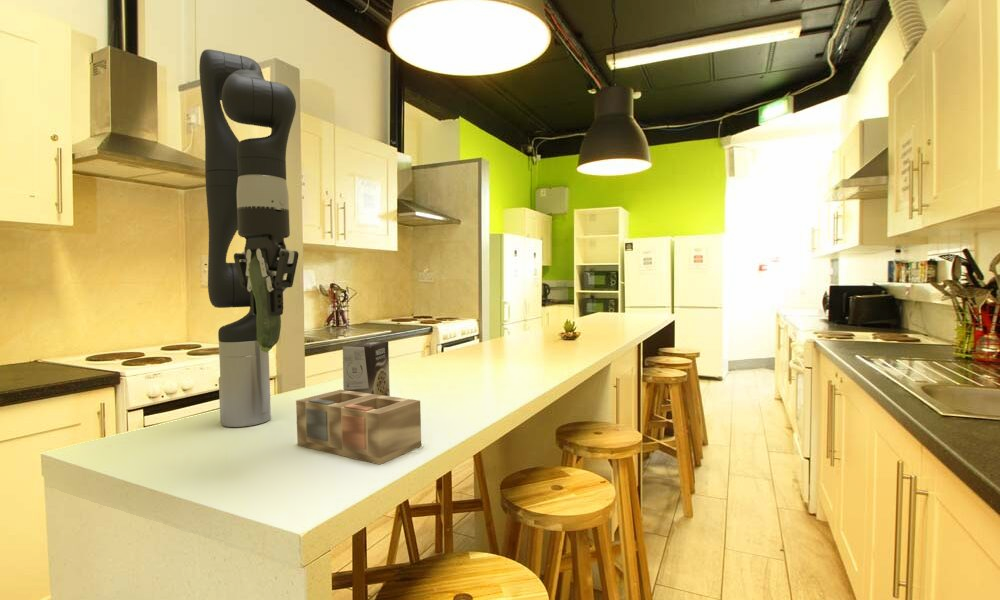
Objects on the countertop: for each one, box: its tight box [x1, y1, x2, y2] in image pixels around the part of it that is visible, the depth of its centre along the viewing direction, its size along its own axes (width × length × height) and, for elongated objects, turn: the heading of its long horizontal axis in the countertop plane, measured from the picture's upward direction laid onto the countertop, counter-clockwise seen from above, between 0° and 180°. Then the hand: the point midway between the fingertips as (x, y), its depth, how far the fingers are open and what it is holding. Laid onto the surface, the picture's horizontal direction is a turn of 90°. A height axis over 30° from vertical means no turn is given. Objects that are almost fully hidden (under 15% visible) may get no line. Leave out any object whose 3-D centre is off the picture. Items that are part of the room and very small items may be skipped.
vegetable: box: [249, 254, 282, 353], centre depth 81 cm, size 4×4×20 cm
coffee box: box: [342, 340, 391, 396], centre depth 105 cm, size 9×6×16 cm
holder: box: [295, 389, 422, 465], centre depth 88 cm, size 20×10×8 cm, turn 59°
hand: (267, 314), depth 81 cm, fingers closed on vegetable, 3 cm apart
